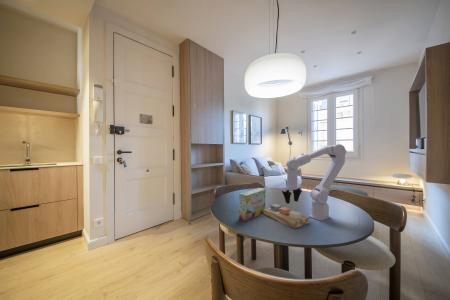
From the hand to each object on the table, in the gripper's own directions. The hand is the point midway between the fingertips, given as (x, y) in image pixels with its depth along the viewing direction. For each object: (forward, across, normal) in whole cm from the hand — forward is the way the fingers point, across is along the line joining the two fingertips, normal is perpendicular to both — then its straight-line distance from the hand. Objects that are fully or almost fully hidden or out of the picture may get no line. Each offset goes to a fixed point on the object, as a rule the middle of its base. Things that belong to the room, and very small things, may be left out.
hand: (291, 202), depth 104 cm
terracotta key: (+7, +6, 0) cm, 9 cm away
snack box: (+9, +18, -13) cm, 25 cm away
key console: (+9, +6, 0) cm, 10 cm away
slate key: (+7, +6, -7) cm, 11 cm away
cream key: (+7, +6, +7) cm, 11 cm away
